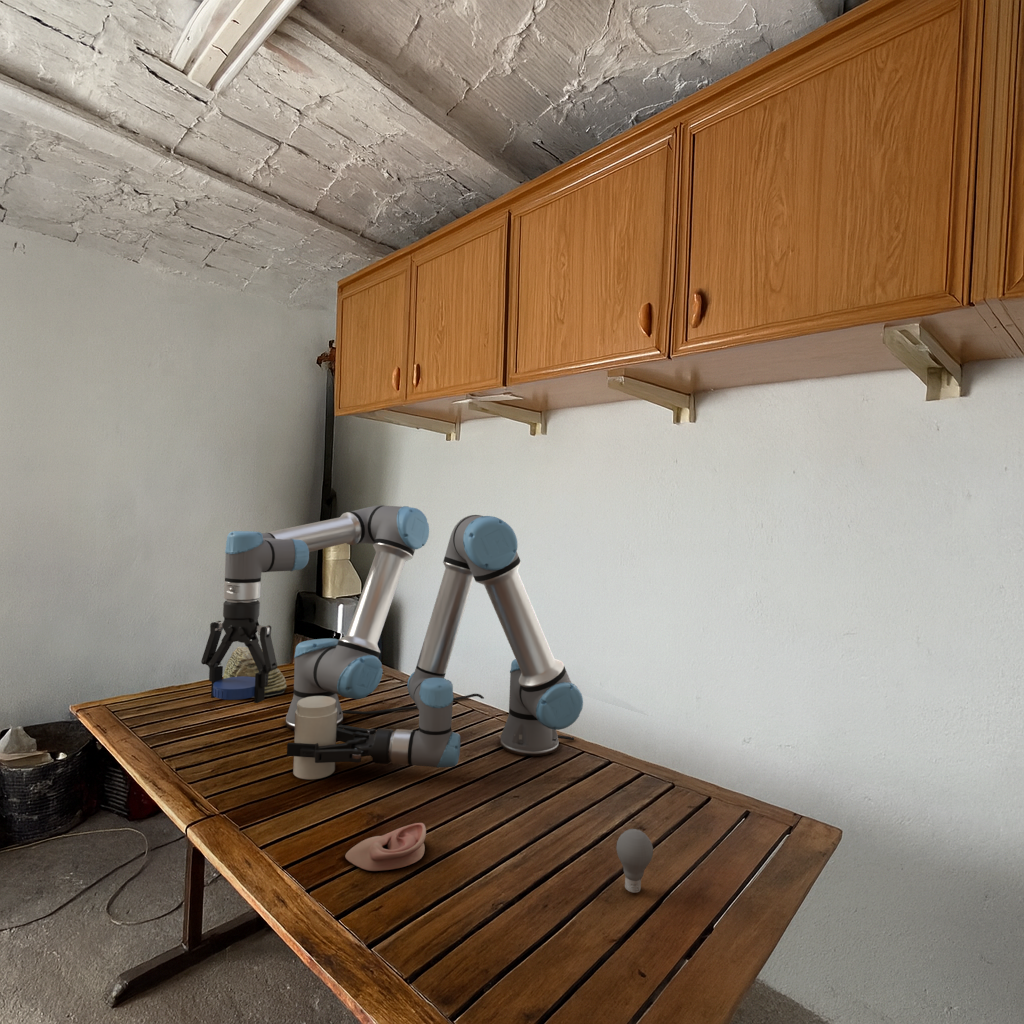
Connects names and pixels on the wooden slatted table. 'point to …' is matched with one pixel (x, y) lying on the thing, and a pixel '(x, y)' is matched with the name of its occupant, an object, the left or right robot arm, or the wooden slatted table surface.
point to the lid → (234, 688)
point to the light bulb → (634, 857)
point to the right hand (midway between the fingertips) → (296, 740)
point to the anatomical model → (390, 849)
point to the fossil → (253, 671)
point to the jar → (315, 734)
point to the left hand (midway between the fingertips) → (237, 698)
